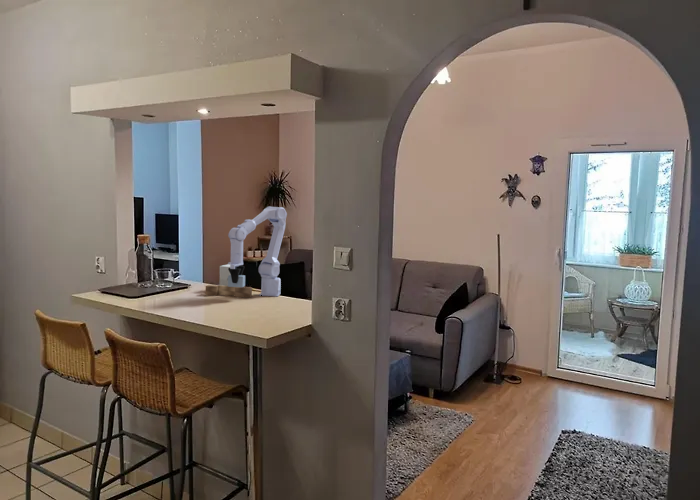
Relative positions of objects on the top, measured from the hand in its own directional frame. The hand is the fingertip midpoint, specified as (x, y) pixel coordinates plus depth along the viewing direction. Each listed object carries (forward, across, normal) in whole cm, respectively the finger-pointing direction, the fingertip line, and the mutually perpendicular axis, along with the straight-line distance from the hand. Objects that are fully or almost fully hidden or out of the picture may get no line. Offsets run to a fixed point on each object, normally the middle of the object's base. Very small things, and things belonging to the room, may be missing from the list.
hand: (236, 282), depth 253 cm
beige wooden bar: (+8, -8, -6) cm, 13 cm away
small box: (+9, -22, -10) cm, 26 cm away
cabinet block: (+2, 0, 0) cm, 2 cm away
